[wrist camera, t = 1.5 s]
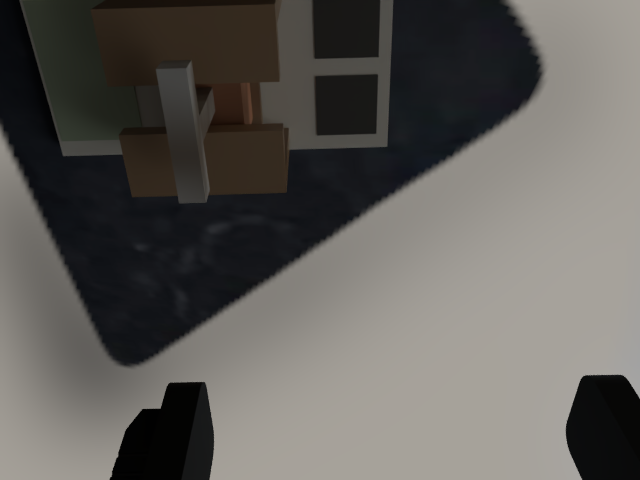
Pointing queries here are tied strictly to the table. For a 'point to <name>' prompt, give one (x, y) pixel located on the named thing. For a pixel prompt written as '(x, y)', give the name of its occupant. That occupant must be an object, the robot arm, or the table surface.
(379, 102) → the tunnel
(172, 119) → the sled
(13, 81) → the table surface
